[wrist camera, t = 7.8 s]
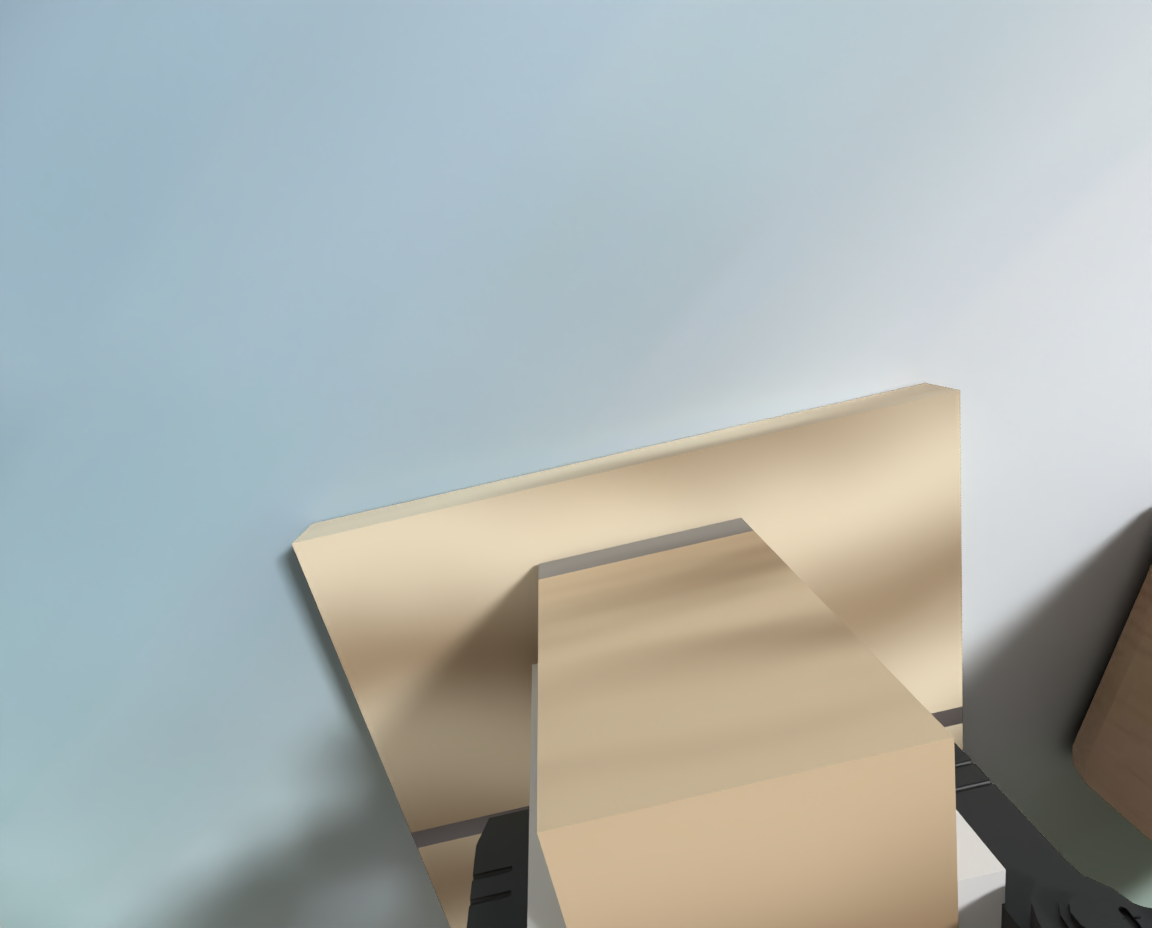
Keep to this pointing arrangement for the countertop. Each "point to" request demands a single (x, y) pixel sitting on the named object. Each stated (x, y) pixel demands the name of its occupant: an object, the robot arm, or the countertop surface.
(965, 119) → the countertop surface
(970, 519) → the countertop surface
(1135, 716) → the block
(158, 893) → the countertop surface
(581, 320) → the countertop surface
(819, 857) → the block
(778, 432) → the board
